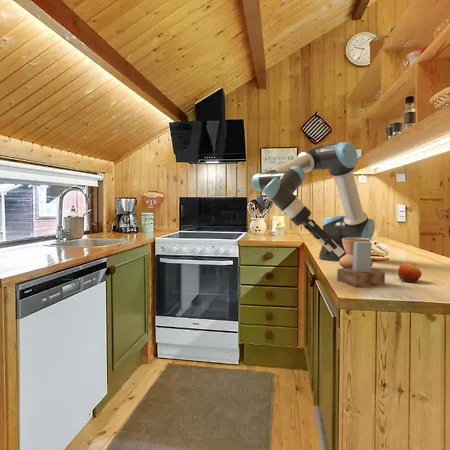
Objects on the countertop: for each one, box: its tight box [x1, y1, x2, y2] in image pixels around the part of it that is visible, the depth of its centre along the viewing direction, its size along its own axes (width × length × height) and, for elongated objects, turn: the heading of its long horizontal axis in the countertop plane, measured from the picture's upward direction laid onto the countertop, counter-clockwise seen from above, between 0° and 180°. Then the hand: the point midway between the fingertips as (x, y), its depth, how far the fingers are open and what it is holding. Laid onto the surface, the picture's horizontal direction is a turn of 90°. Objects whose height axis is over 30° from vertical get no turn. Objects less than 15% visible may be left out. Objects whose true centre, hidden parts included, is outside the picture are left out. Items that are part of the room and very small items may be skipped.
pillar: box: [353, 241, 372, 273], centre depth 136 cm, size 5×5×11 cm
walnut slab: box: [336, 268, 386, 288], centre depth 137 cm, size 12×12×5 cm
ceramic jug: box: [338, 237, 374, 269], centre depth 164 cm, size 18×14×14 cm
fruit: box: [397, 262, 422, 283], centre depth 139 cm, size 8×8×8 cm
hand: (336, 251), depth 136 cm, fingers open, 13 cm apart
